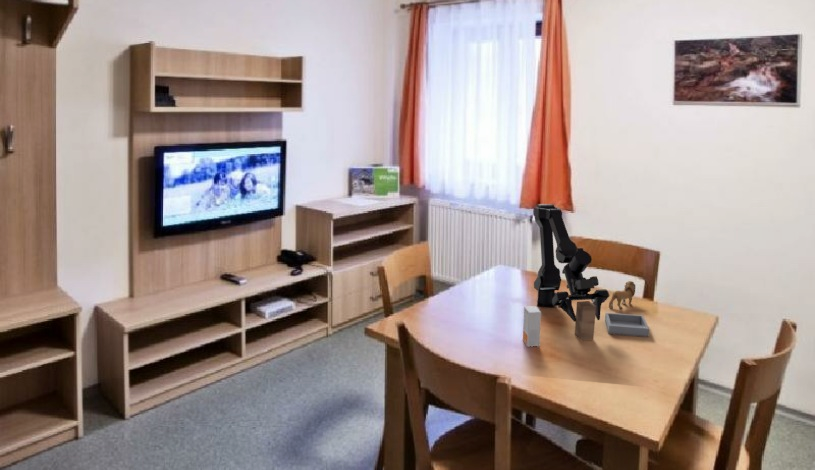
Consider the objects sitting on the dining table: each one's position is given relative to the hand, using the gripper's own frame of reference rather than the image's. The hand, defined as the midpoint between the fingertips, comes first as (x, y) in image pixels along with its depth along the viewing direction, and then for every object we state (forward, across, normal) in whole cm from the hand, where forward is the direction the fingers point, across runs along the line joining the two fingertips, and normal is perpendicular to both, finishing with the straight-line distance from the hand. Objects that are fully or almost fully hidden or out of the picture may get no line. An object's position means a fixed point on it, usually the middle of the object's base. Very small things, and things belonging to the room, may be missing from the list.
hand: (587, 320), depth 206 cm
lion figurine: (-16, +29, +25) cm, 41 cm away
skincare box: (+5, -20, +4) cm, 21 cm away
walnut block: (+4, 0, +6) cm, 7 cm away
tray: (0, +18, +9) cm, 20 cm away
